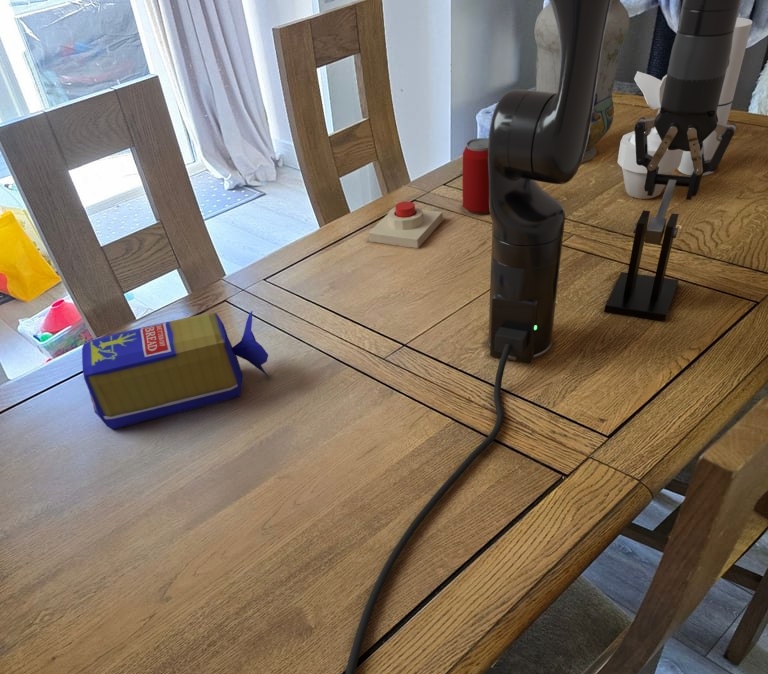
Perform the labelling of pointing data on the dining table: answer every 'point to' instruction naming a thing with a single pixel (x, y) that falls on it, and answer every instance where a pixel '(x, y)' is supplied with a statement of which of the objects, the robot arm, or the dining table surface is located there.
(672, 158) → the potted plant
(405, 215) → the button
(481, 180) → the beverage can
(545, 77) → the vase
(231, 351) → the bread
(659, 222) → the lever
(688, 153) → the cylindrical container
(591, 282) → the dining table surface
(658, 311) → the bracket
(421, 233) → the button box
